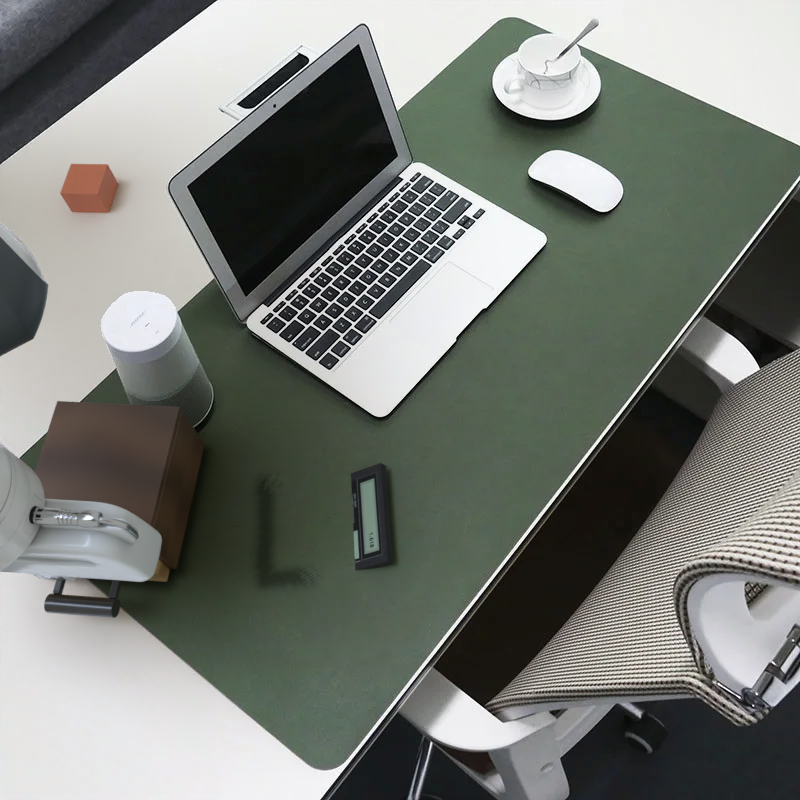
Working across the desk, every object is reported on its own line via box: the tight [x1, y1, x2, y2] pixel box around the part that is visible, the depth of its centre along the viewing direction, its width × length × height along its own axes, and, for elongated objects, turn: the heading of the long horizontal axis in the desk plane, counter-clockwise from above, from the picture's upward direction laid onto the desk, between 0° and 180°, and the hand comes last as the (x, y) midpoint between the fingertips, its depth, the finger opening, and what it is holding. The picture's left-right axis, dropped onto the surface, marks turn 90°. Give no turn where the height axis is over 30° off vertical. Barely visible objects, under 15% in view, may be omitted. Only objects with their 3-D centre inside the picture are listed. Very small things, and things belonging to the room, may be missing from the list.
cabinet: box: [34, 400, 205, 570], centre depth 76 cm, size 13×12×9 cm
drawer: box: [43, 560, 171, 619], centre depth 75 cm, size 16×10×7 cm, turn 174°
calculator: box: [350, 462, 394, 571], centre depth 76 cm, size 9×12×3 cm
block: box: [59, 163, 119, 214], centre depth 97 cm, size 4×4×4 cm
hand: (61, 570), depth 67 cm, fingers closed
